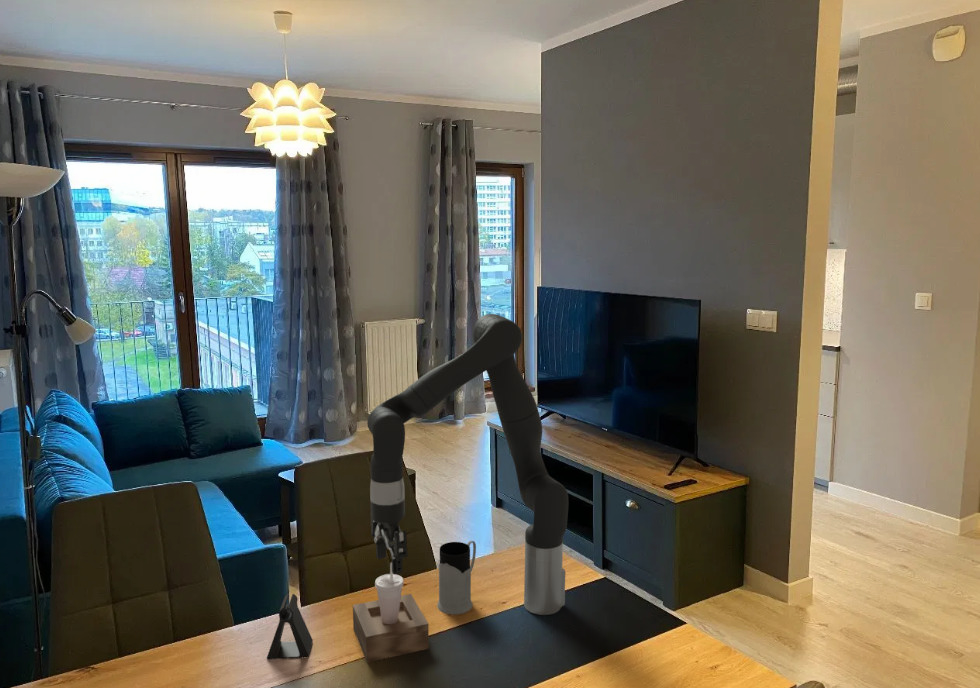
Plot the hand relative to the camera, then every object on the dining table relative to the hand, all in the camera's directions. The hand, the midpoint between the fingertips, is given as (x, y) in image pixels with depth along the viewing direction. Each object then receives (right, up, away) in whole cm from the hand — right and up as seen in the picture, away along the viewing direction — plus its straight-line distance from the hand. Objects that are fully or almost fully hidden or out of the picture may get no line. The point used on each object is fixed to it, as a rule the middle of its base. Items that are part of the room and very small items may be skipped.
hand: (389, 565), depth 165 cm
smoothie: (0, -13, +2) cm, 14 cm away
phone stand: (-22, -19, -2) cm, 29 cm away
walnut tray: (0, -18, +3) cm, 18 cm away
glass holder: (+15, -15, +20) cm, 29 cm away
